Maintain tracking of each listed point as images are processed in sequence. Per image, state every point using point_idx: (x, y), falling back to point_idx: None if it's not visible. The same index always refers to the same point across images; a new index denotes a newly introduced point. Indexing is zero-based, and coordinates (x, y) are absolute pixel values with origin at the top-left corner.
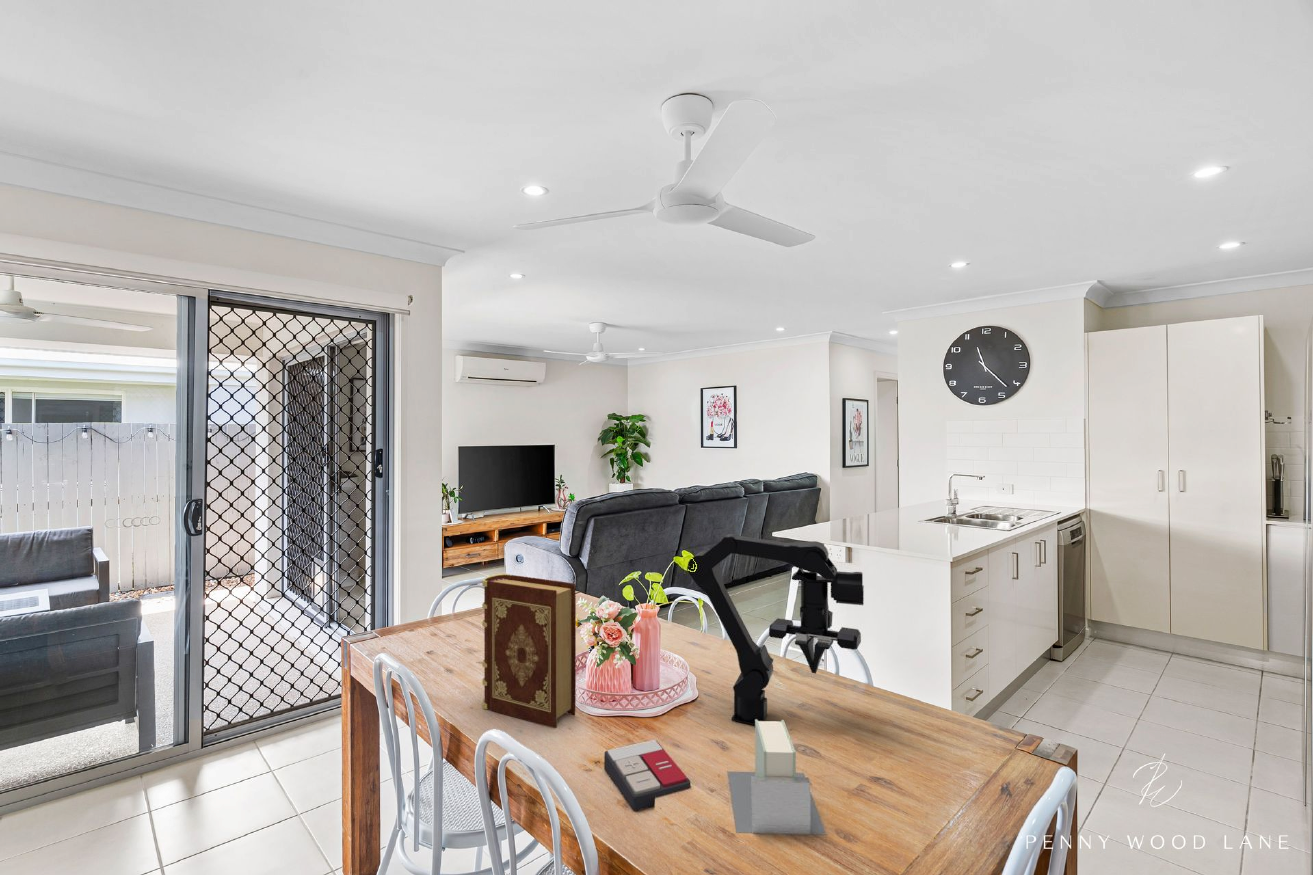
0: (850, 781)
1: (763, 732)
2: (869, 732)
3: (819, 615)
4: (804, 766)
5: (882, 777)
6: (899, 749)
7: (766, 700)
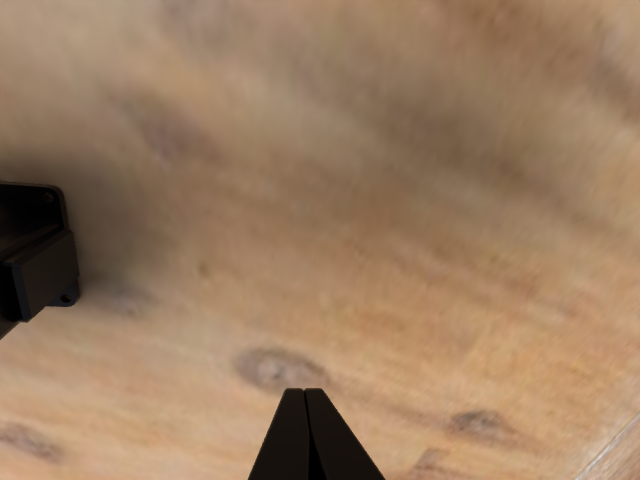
0: (406, 450)
1: None
2: (489, 181)
3: None
4: None
5: (481, 410)
6: (561, 263)
7: (26, 273)
